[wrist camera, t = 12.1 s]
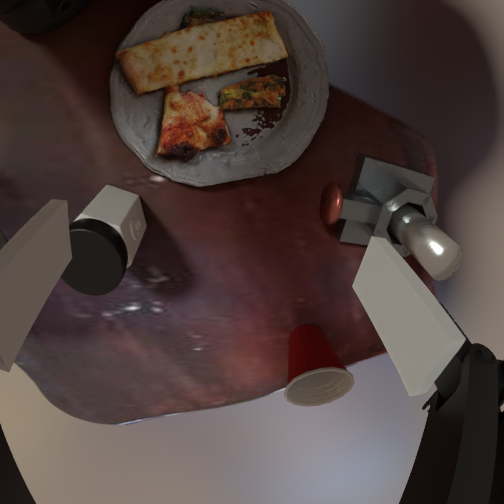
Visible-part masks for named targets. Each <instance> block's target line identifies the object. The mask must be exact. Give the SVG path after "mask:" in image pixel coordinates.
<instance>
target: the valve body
mask: <svg viewBox="0 0 504 504" xmlns="http://www.w3.org/2000/svg"><path fill="white" fill-rule="evenodd" d="M434 180H435V178H434V177H433V176H431V175H429V174H428V173H425V172H422V171H418V170H415V169H412V168H409V167H406V166H402V165H399V164H396V163H392V162H389V161H385V160H382V159H378V158H374V157H371V156H367V155H363V154H359V156H358V160H357V163H356V167H355V170H354V174H353V177H352V181H351V184H350V187H349V191H348V194H346V193H343V191H342V187H341V185H340V184H338V183H334V182H329V183H328V184H327V185H326V186H325V188H324V190H323V193H322V196H321V200H320V217H321V220H322V222H323V223H324V224H329V225H333V224H335V223H336V222H337V220H338V218H340V220H339V223H338V226H337V230H336V233H335V236H336V237H337V238H338V240H339V241H340V242H347V243H355V244H362V245H368V244H369V242H370V239H371V236H374V237H380V238H385V239H386V240H387V241H388V242H389V243H390V244H391V245H392V246H393V248H394V249H395V250H396V251H397V252H398V253H399V255H400V256H402V257H407V256H408V255H410V254H411V253H410V252H409V251H408V250H407V249H406V248H405V247H404V245H403V244H402V243H401V242H400V241H399V240H398V239H397V238H396V237H395V236H394V235H393V234H392V233H391V232H390V231H389V230H388V229H387V226H388V224H389V221H390V218H391V215H392V213H393V212H394V211H395V210H397V209H398V208H400V207H401V206H403V205H404V204H406V203H408V204H410V205H411V206H412V207H413V208H415V209H416V210H417V211H418V212H420V213H421V214H422V215H423V216H424V217H426V218H427V219H428V220H429V221H430V222H432V223H433V224H434V225H435V223H436V220H437V218H438V217H437V214H436V210H435V207H434V204H433V201H432V198H431V195H430V192H431V189H432V186H433V183H434Z"/></svg>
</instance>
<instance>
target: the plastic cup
mask: <svg viewBox="0 0 504 504" xmlns="http://www.w3.org/2000/svg"><path fill="white" fill-rule="evenodd" d="M288 344H289V353H288V384H287V386H286V389H285V393H284V396H285V398H286V399H287V401H289V402H291V403H293V404H295V405H300V406H317V405H322V404H325V403H329V402H332V401H334V400H336V399H338V398H340V397H342V396H344V395H345V394H346V393H347V392H348V391H350V390H351V388H352V386H353V384H354V378H353V375H352V374H351V373H349V372H348V371H347V369H346V368H345V367H344V365H343V363H342V362H341V361H340V359H339V358H338V356H337V354H336V353H335V351H334V349H333V348H332V346H331V345H330V343H329V341H328V340H327V339H326V338H325V336H324V334H323V333H322V331H321V330H320V329H319V328H318V327H316V326H314V325H303V326H300V327H297V328H296V329H295V330H293V331H292V333H291V334H290V336H289V342H288Z"/></svg>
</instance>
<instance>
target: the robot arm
mask: <svg viewBox="0 0 504 504" xmlns="http://www.w3.org/2000/svg"><path fill="white" fill-rule="evenodd" d="M88 2H89V0H0V21H2V22H3V23H4V24H5V25H6V26H7V27H8V28H10V29H12V30H14V31H16V32H20V33H28V34H39V33H44V32H48V31H50V30H53V29H55V28H57V27H59V26H61V25H63V24H64V23H66V22H67V21H69V20H70V19H71V18H73V17H74V16H75V15H76V14H77V13H78V12H80V11H81V10H82V9H83V7H84V6H85V5H86V4H87V3H88ZM71 259H72V252H71V244H70V234H69V223H68V209H67V201H66V200H51V201H49V202H48V203H47V204H46V205H45V206H44V207H43V208H42V209H41V210H40V211H39V212H38V213H37V214H35V215H34V216H33V217H32V218H31V219H30V220H29V221H28V222H27V223H26V224H25V225H24V226H23V227H22V228H21V229H20V230H19V231H18V232H17V233H16V234H15V235H14V236H13V237H12V238H11V239H10V240H9V242H8V243H7V244H6V245H5V246H4V247H3V248H2V249H1V250H0V369H1V370H4V371H7V372H9V371H10V369H11V367H12V365H13V363H14V361H15V358H16V356H17V354H18V352H19V350H20V348H21V346H22V344H23V342H24V340H25V338H26V336H27V334H28V332H29V331H30V329H31V327H32V325H33V323H34V321H35V319H36V317H37V316H38V314H39V312H40V310H41V308H42V307H43V305H44V303H45V301H46V300H47V298H48V296H49V295H50V293H51V291H52V290H53V288H54V286H55V285H56V283H57V281H58V280H59V278H60V276H61V275H62V273H63V272H64V270H65V268H66V267H67V265H68V264H69V262H70V261H71ZM352 287H353V289H354V291H355V292H356V294H357V296H358V298H359V299H360V301H361V303H362V305H363V307H364V308H365V310H366V312H367V314H368V316H369V318H370V319H371V321H372V323H373V325H374V327H375V329H376V331H377V333H378V334H379V336H380V338H381V340H382V342H383V344H384V346H385V348H386V350H387V352H388V354H389V356H390V357H391V359H392V361H393V363H394V365H395V367H396V369H397V371H398V373H399V375H400V377H401V379H402V381H403V383H404V385H405V388H406V390H407V392H408V394H409V396H416V395H421V394H425V393H426V392H427V391H428V390H429V389H430V387H431V386H432V385H433V384H434V383H435V385H436V387H437V388H438V389H437V391H436V392H435V393H434V394H433V395H432V396H431V397H430V399H429V400H428V401H427V402H426V403H425V404H424V406H423V407H422V409H423V410H424V409H425V408H426V407H427V406H428V405H430V409H429V410H428V412H429V413H428V417H427V421H426V425H425V429H424V432H423V436H422V439H421V443H420V446H419V449H418V452H417V456H416V459H415V462H414V465H413V468H412V471H411V473H410V476H409V479H408V482H407V485H406V487H405V490H404V492H403V495H402V497H401V500H400V502H399V504H504V411H503V412H501V409H500V407H501V406H502V405H503V403H504V360H503V361H502V360H497V359H496V357H495V356H494V354H493V353H492V352H491V351H490V350H489V349H488V348H487V347H485V346H484V345H481V344H479V343H474V344H471V343H470V341H469V340H468V338H467V337H466V335H465V334H464V333H463V331H462V330H461V328H460V327H459V326H458V324H457V323H456V322H455V321H454V319H453V318H452V316H451V315H450V314H449V312H448V311H447V310H446V309H445V308H444V306H443V305H442V304H441V303H440V302H439V301H438V300H437V299H436V298H435V297H434V296H433V295H432V293H431V292H430V291H429V289H428V288H427V287H426V286H425V285H424V283H423V282H422V281H421V280H420V278H419V277H418V276H417V275H416V273H415V272H414V271H413V270H412V269H411V267H410V266H409V265H408V264H407V263H406V262H405V260H404V259H403V258H402V257H401V256H400V255H399V253H398V252H397V251H396V250H395V249H394V248H393V246H392V245H391V244H390V243H389V242H388V241H387V240H386V239H385V238H380V237H374V236H371V239H370V242H369V244H368V247H367V250H366V252H365V255H364V258H363V260H362V263H361V265H360V268H359V270H358V273H357V275H356V278H355V280H354V283H353V285H352ZM0 504H36V503H35V501H34V499H33V497H32V495H31V494H30V492H29V490H28V488H27V486H26V484H25V482H24V480H23V477H22V475H21V473H20V471H19V469H18V467H17V465H16V462H15V460H14V458H13V455H12V453H11V451H10V448H9V446H8V443H7V441H6V438H5V436H4V433H3V431H2V428H1V424H0Z"/></svg>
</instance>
